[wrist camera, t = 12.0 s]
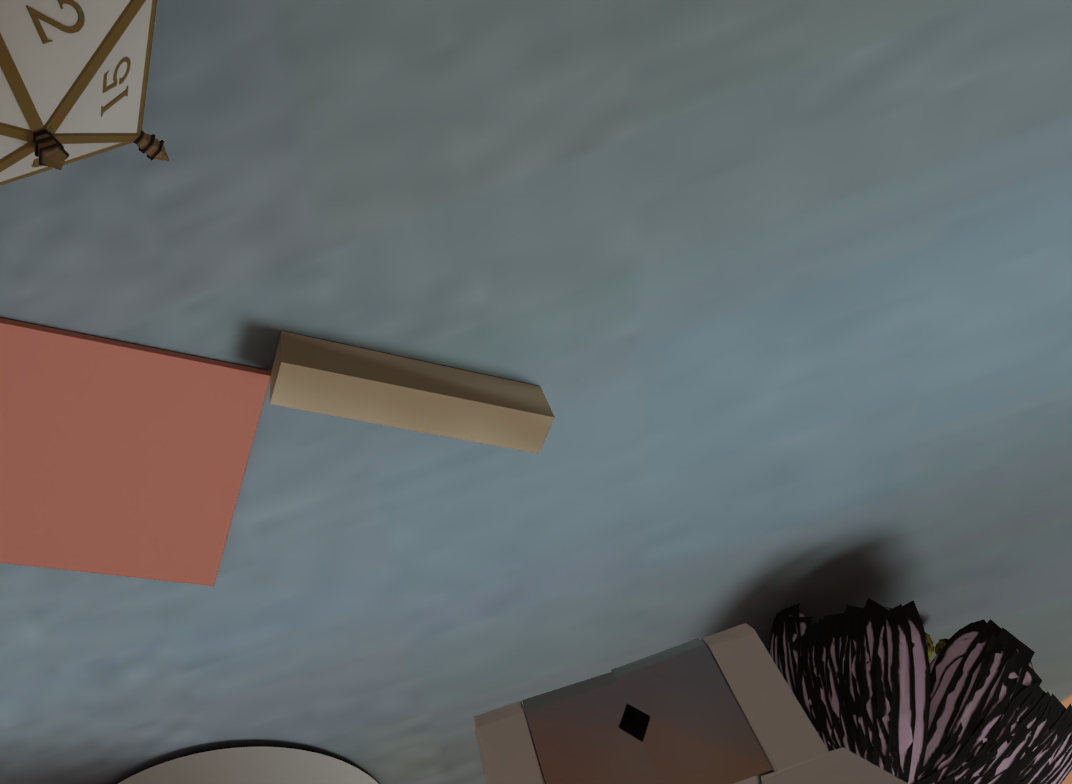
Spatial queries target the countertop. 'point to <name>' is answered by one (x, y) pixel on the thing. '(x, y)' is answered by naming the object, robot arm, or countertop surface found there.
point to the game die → (72, 81)
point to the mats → (120, 454)
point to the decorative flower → (924, 697)
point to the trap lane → (407, 394)
